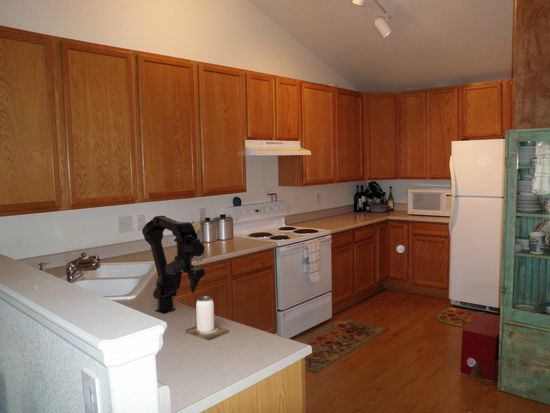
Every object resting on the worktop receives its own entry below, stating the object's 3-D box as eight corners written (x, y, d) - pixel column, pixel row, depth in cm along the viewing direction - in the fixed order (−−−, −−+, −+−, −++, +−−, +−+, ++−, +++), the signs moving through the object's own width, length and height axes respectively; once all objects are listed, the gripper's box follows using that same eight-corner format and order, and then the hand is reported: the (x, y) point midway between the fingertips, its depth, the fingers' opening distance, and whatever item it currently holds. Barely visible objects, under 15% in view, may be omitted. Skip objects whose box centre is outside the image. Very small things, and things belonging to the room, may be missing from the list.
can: (211, 325, 172) (211, 295, 171) (216, 331, 166) (215, 299, 165) (195, 327, 170) (194, 297, 169) (198, 333, 164) (198, 302, 163)
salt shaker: (193, 259, 304) (192, 241, 302) (201, 259, 306) (200, 240, 305) (194, 261, 298) (194, 242, 297) (203, 260, 300) (202, 241, 299)
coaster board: (185, 332, 168) (185, 329, 168) (205, 325, 176) (205, 322, 176) (209, 340, 160) (209, 337, 160) (228, 332, 168) (228, 329, 168)
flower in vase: (183, 256, 317) (182, 221, 315) (195, 253, 326) (194, 219, 323) (194, 258, 309) (194, 222, 306) (207, 255, 317) (206, 221, 315)
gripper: (153, 253, 180) (155, 291, 182) (183, 259, 169) (185, 299, 170) (175, 249, 189) (176, 285, 190) (205, 254, 178) (206, 292, 179)
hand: (185, 290), depth 182 cm, fingers open, 9 cm apart
